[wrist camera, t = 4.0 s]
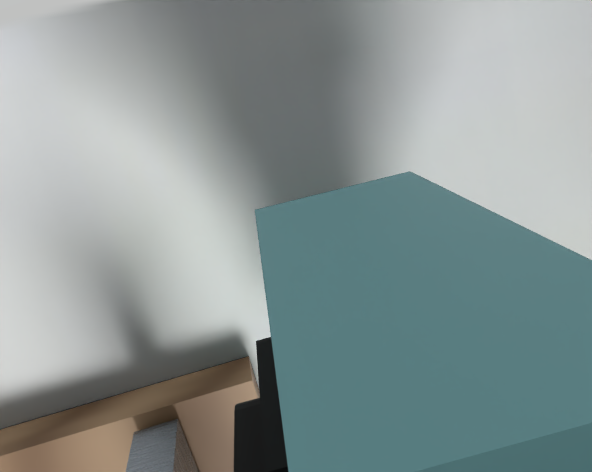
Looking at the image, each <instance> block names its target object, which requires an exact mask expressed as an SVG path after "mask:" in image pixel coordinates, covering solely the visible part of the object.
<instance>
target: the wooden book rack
mask: <svg viewBox="0 0 592 472" xmlns="http://www.w3.org/2000/svg"><path fill="white" fill-rule="evenodd" d="M257 398H260V392H259V388H258V385H257V382H256V378H255V375H254V372H253V369H252V365H251V362H250V359H249V356H248V357H245V358H241V359H238V360H235V361H231V362H228V363H224V364H221V365H218V366H214V367H211V368H207V369H204V370H201V371H197V372H194V373H191V374H187V375H184V376H180V377H177V378H174V379H170V380H167V381H163V382H160V383H157V384H153V385H150V386H147V387H143V388H140V389H136V390H133V391H130V392H126V393H123V394H119V395H116V396H113V397H109V398H106V399H102V400H99V401H96V402H92V403H89V404H86V405H82V406H79V407H75V408H72V409H69V410H65V411H62V412H58V413H55V414H52V415H48V416H45V417H42V418H38V419H35V420H31V421H28V422H25V423H21V424H18V425H14V426H11V427H8V428H4V429H1V430H0V472H126V467H127V462H128V458H129V453H130V448H131V443H132V439H133V434H134V432H136V431H139V430H142V429H146V428H149V427H152V426H155V425H159V424H162V423H165V422H169V421H172V420H175V419H178V421H179V423H180V426H181V428H182V431H183V434H184V436H185V439H186V441H187V444H188V446H189V449H190V451H191V454H192V456H193V459H194V461H195V464H196V467H197V469H198V472H234V410H235V405H236V404H238V403H242V402H245V401H249V400H253V399H257Z"/></svg>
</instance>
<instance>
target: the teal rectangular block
mask: <svg viewBox="0 0 592 472" xmlns="http://www.w3.org/2000/svg"><path fill="white" fill-rule="evenodd" d="M255 216H256V223H257V231H258V239H259V247H260V254H261V262H262V270H263V278H264V285H265V293H266V301H267V309H268V316H269V324H270V332H271V340H272V348H273V355H274V363H275V371H276V379H277V386H278V394H279V402H280V410H281V417H282V425H283V433H284V441H285V448H286V456H287V464H288V472H592V260H590V259H588V258H586V257H584V256H582V255H580V254H578V253H576V252H574V251H572V250H569V249H567V248H565V247H563V246H561V245H559V244H557V243H555V242H553V241H551V240H549V239H547V238H545V237H543V236H541V235H539V234H537V233H535V232H533V231H531V230H529V229H527V228H525V227H523V226H521V225H518V224H516V223H514V222H512V221H510V220H508V219H506V218H504V217H502V216H500V215H498V214H496V213H494V212H492V211H490V210H488V209H486V208H484V207H482V206H480V205H478V204H476V203H474V202H472V201H469V200H467V199H465V198H463V197H461V196H459V195H457V194H455V193H453V192H451V191H449V190H447V189H445V188H443V187H441V186H439V185H437V184H435V183H433V182H431V181H429V180H427V179H425V178H423V177H420V176H418V175H416V174H414V173H412V172H406V173H401V174H397V175H393V176H389V177H385V178H381V179H377V180H373V181H369V182H365V183H361V184H357V185H353V186H349V187H345V188H341V189H337V190H333V191H329V192H325V193H321V194H317V195H313V196H309V197H305V198H301V199H297V200H293V201H289V202H285V203H281V204H277V205H273V206H269V207H265V208H260V209H256V210H255Z"/></svg>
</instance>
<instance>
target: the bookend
mask: <svg viewBox="0 0 592 472" xmlns="http://www.w3.org/2000/svg"><path fill="white" fill-rule="evenodd" d="M126 472H198V469H197V467H196V464H195V461H194V459H193V456H192V454H191V451H190V449H189V446H188V444H187V441H186V439H185V436H184V434H183V431H182V428H181V426H180V423H179V421H178V419H175V420H172V421H169V422H165V423H162V424H159V425H155V426H152V427H149V428H146V429H142V430H139V431H136V432H134V434H133V439H132V443H131V448H130V453H129V458H128V462H127V467H126Z"/></svg>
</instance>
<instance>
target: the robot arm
mask: <svg viewBox="0 0 592 472" xmlns="http://www.w3.org/2000/svg"><path fill="white" fill-rule="evenodd" d="M256 346H257V361H258V376H259V390H260V398H257V399H253V400H249V401H245V402H242V403H238V404H236V405H235V410H234V472H288V464H287V456H286V448H285V441H284V433H283V425H282V417H281V410H280V402H279V394H278V386H277V379H276V371H275V363H274V355H273V348H272V340H271V337H269V338H265V339H262V340H258V341H256Z"/></svg>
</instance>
